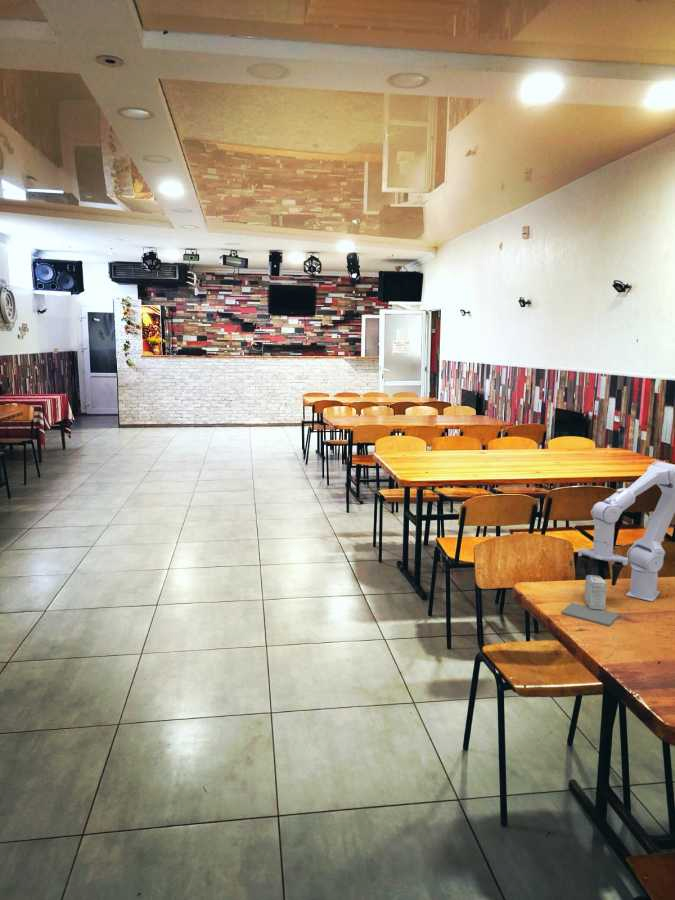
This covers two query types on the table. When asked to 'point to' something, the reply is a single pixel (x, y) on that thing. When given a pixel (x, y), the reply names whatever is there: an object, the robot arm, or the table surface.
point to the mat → (590, 614)
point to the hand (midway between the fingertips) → (601, 581)
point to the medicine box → (595, 592)
